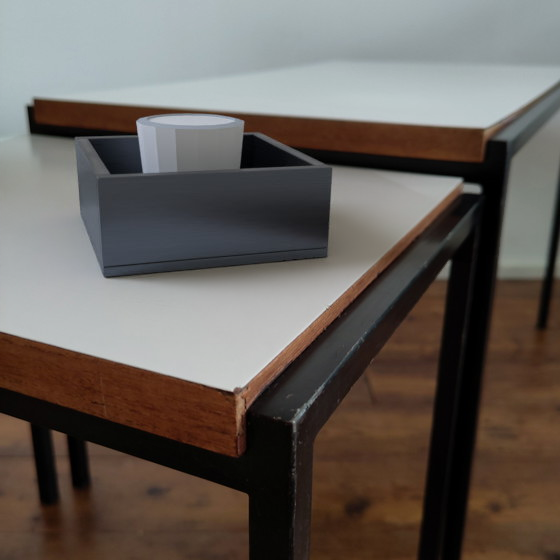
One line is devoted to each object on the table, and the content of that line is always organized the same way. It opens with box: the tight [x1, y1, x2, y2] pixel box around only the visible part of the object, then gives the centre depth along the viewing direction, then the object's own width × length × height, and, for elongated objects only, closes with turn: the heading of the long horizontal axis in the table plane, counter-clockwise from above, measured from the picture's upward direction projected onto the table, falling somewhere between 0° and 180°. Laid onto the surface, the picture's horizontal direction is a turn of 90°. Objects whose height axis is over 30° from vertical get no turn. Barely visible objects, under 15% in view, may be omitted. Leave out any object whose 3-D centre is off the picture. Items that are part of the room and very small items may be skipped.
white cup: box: [135, 112, 245, 173], centre depth 45 cm, size 7×7×7 cm
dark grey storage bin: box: [74, 131, 333, 278], centre depth 46 cm, size 14×14×6 cm
